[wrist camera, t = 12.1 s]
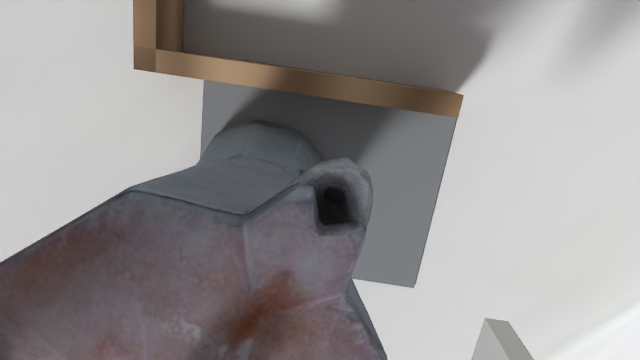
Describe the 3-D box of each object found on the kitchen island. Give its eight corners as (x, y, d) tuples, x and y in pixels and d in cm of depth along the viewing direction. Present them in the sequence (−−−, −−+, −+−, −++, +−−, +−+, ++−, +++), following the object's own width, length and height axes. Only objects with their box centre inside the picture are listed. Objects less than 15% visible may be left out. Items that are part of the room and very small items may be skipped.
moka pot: (389, 136, 24) (648, 415, 5) (264, 305, 28) (138, 831, 9) (262, 48, 23) (-70, -38, 3) (148, 240, 26) (-309, 707, 7)
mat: (196, 253, 27) (195, 254, 27) (205, 79, 24) (203, 79, 23) (413, 286, 27) (413, 287, 27) (455, 117, 23) (456, 117, 23)
